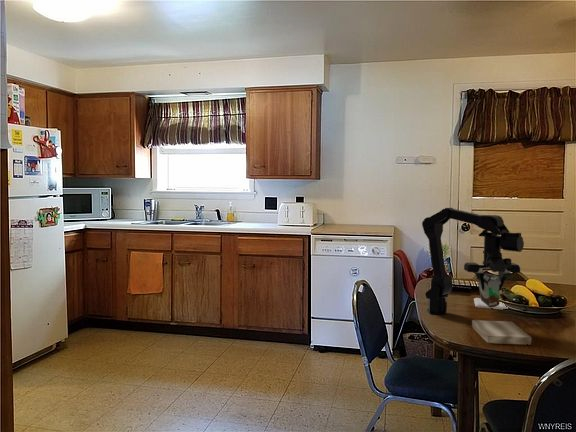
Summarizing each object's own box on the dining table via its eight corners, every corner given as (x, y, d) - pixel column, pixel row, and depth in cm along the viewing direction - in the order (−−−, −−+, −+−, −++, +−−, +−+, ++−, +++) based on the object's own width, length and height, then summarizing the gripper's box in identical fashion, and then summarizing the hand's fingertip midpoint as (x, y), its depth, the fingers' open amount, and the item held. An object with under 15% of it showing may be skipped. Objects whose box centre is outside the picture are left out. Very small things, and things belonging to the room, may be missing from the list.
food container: (508, 306, 172) (505, 280, 171) (491, 308, 173) (488, 282, 172) (495, 297, 184) (493, 272, 183) (479, 299, 185) (477, 274, 184)
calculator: (473, 301, 217) (473, 296, 217) (521, 304, 211) (521, 300, 211) (475, 308, 205) (475, 304, 204) (526, 312, 198) (527, 308, 198)
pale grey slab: (487, 344, 159) (487, 335, 159) (471, 328, 177) (472, 320, 177) (531, 346, 158) (531, 337, 157) (510, 329, 176) (511, 321, 175)
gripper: (473, 251, 169) (472, 295, 171) (527, 252, 168) (525, 295, 169) (464, 247, 181) (463, 288, 182) (514, 248, 179) (513, 289, 180)
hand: (491, 290), depth 178 cm, fingers closed on food container, 6 cm apart
